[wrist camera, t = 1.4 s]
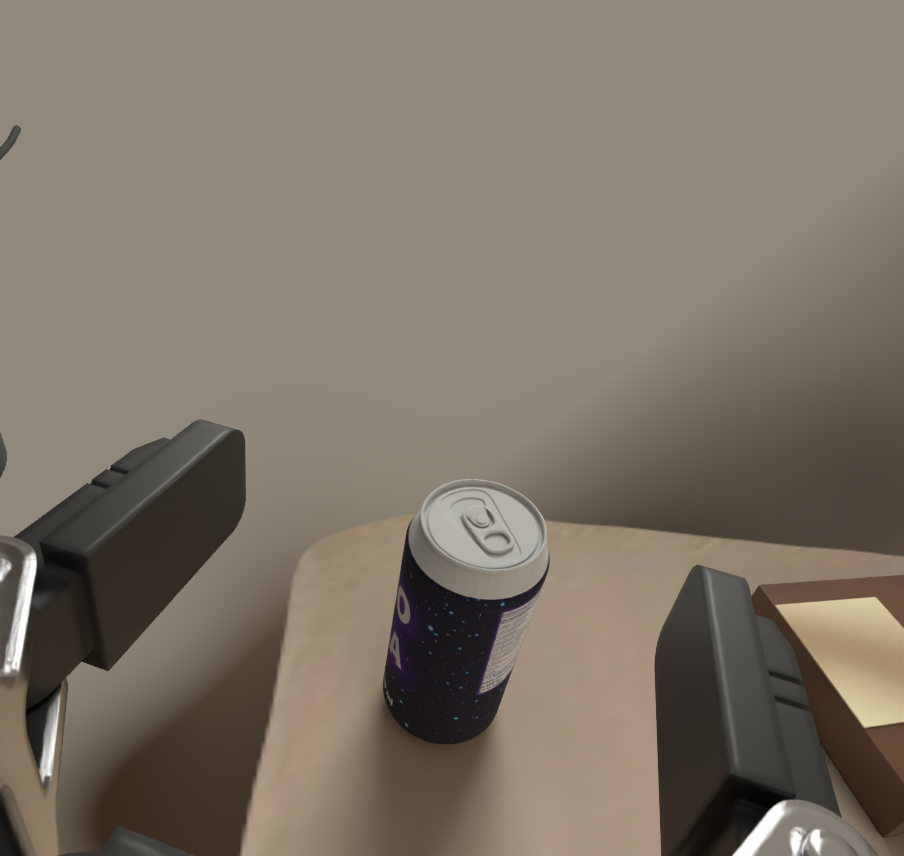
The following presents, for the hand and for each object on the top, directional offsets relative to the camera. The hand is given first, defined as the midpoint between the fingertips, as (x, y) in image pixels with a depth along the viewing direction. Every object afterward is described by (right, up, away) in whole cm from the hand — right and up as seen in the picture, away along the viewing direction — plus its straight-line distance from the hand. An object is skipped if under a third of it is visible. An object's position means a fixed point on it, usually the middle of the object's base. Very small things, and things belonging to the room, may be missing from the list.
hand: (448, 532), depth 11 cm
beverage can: (-1, -11, +20) cm, 23 cm away
